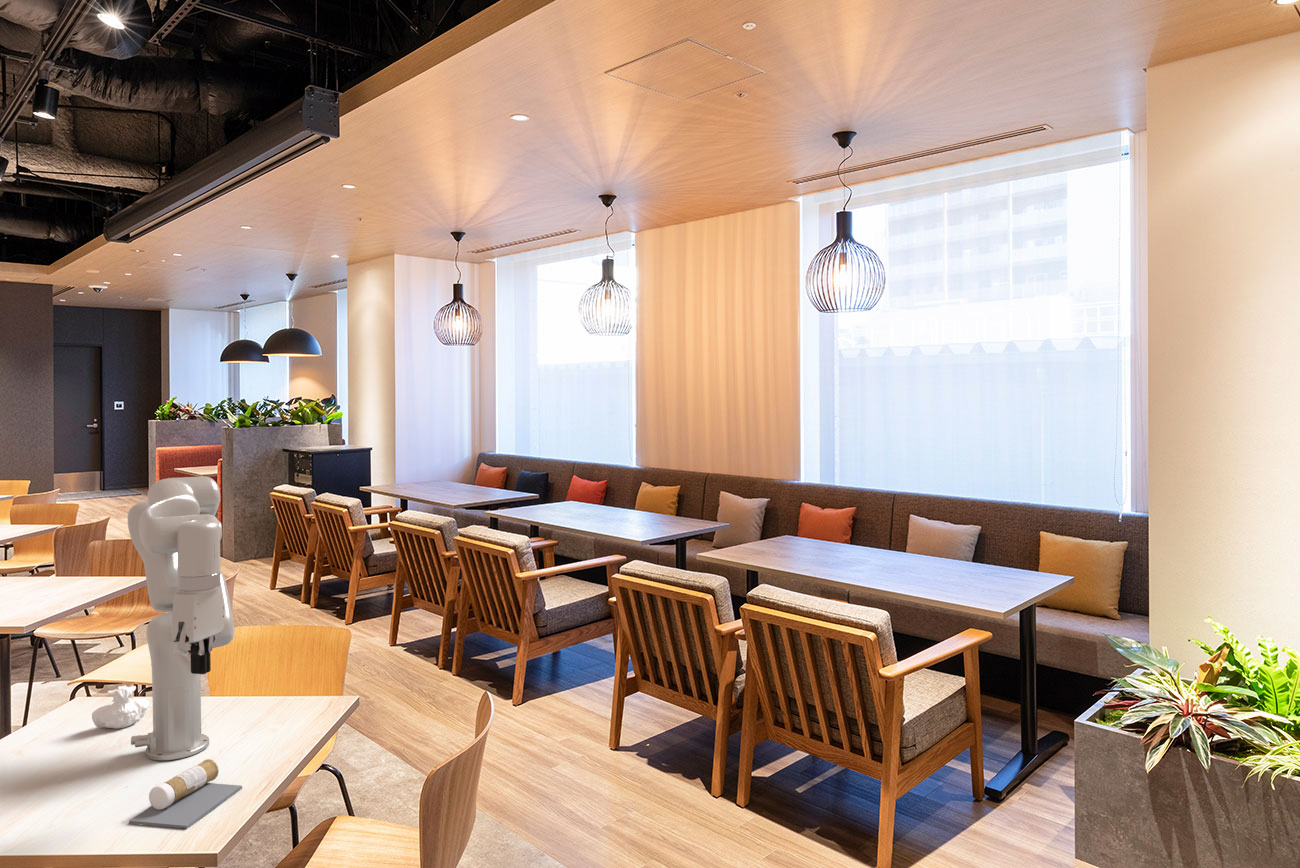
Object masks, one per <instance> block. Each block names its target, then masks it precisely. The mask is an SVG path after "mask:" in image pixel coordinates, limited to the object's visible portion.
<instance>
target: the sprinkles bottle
mask: <svg viewBox="0 0 1300 868" xmlns="http://www.w3.org/2000/svg"><path fill="white" fill-rule="evenodd" d="M218 776H219V766H218V765H217V763H216V761H214V760H213V759H208V758H207V759H204V760H203V761H202V762H200V763H199V764H196V765H195V766H194V765H193V766H192V767H191V768H189V769H187V770H185V771H183V772H181V773H179V774H177V775H175V776H173V777H172V778H170V779H169V780H167V781H165V782H162V783H159V784H157V785H155V786H154V787H153V788H152V789H150V791H149V793H148V800H149V801H148V802H149V803H150V806H153V807H154V808H155V809H158V810H161V809H164V808H166V807H168V806H170V805H171V804H172V803H173V802H175V801H176V800H178V799H180V798H182V797H183V796H186V795H187V794H189V793H191V792H193V791H194V790H196V789H198V788H200V787H202V786H203V785H204V784H206V783H211V782H213V781H214V780H215V779H216V778H217V777H218Z"/></svg>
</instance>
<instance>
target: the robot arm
mask: <svg viewBox="0 0 1300 868" xmlns="http://www.w3.org/2000/svg"><path fill="white" fill-rule="evenodd" d="M220 490H221V489H220V487H219V485H218V483H217V482H216V481H215V480H214V479H213V478H212V477H210V476H204V475H203V476H185V477H168V478H162V479H160V480H157V481H156V482H154V483H153V484H152V485H151V486H150V487H149V489H148V490H147V491H148V492H147V500H145V501H142V502H139V503H137V504H134V505H133V506H131V507H130V509H129V510H128V513H127V528H128V533H129V535H130V536H129V537H130V539H131V541H132V544H133V546H134V548H135V550H136V551H137V553H138V555H139V556H140V558H141V560H142V563H143V566H144V573H145V580H146V588H147V595H148V600H149V603H150V606H151V607H152V609H153V610H154V611H156V612H159V613H162V614H159V615H157V616H155V617H153V618H152V619H151V620H150V621H149V623H148V624H147V626H146V633H145V634H146V639H147V640H146V641H147V646H148V652H149V657H150V666H151V683H152V684H151V685H152V688H151V689H152V690H151V691H152V694H151V695H152V732H147V734H143V735H142V734H139V735H131V738H130V745H131V746H134V748H142V747H146V748H145V752H144V753H145V757H146V758H148V759H150V760H154V761H173V760H179V759H184V758H187V757H190V756H193V755H195V754H198V753H200V752H202V751H204V750H205V749H206V748H207V747H208V746H209V745H210V737H209V736H208V735H206V734H204V733H202V699H201V697H202V695H201V694H202V692H201V688H202V687H201V680H202V679H201V677H202V676H201V675H206V674H207V673H210V672H211V670H212V669H211V668H212V667H211V663H212V662H211V661H212V659H211V652H212V651H213V649H215V648H220V647H221V648H222V647H224V646H227V645H229V644H230V643H231V642H232V641H233V639H234V636H235V629H236V628H235V621H234V615H233V610H232V609H233V608H232V604H231V600H230V595H229V591H228V590H229V589H228V586H227V585H228V584H227V581H226V578H225V577H226V576H225V575H224V574H223V572H222V570H221V540H222V539H223V538H222V537H223V525H222V523H221V521H220V520H219V519H218V517H216V514H217V512H218V510H219V506H220V504H221V503H220V502H221V492H220ZM188 655H190V657H189V656H188Z"/></svg>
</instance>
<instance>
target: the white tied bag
mask: <svg viewBox="0 0 1300 868" xmlns="http://www.w3.org/2000/svg"><path fill="white" fill-rule="evenodd" d="M136 689H137V687H136V685H132V686H129V687H128V686H127V685H126V684H125V685H122V686H117V689H113V690H107V694H108V696H111V697H113V699H112V701H111V702H112V704H107V705H103V706H100V707H98V708H96V709H95V710H94V711H92V713H91V719H92V722H93V724H94V726H95V727H96V728H108V729H109V728H110V729H114V730H115V729H117V730H118V729H124V728H127V727H129V726H131V725H133V724H135V723H136V722H138V721H139V720H140V719H142V718H143V717H144V716H145V715H146V712H147V710H148V708H149V706H150V701H149V700H147V699H145V698H134V699H133V692H135V691H136ZM123 727H124V728H123Z"/></svg>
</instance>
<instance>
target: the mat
mask: <svg viewBox="0 0 1300 868" xmlns="http://www.w3.org/2000/svg"><path fill="white" fill-rule="evenodd" d="M242 789H243V785H239V784H238V785H237V784H227V783H225V784H224V783H214V782H208V783H206V784H204V785H203V786H202V787H200V788H198V789H196V790H194V791H193V792H191V793H189V794H187V795H186V796H183V797H182V798H180V799H178V800H176V801H175V802H173V803H172V804H171V805H170V806H168V807H166V808H164V809H161V810H158V809H155V808H154V807H153V806H152V805H150V806H149V807H147V809H145V810H143V811H142V812H140V813H139V814H137V815H135V816H134V817H133V818H131V819H130V820H129V821H128V823H129V825H137V824H142V825H141V826H148V825H151V827H159V826H164V827H163V828H170V827H174V828H173V829H181V828H186V829H185V830H188V829H189V828H190V827H192V826H193V825H195V824H196V823H197V822H199V821H200V820H201V819H203V818H205V816H206V815H208V814H210V813H211V812H212V811H214V810H215V809H216V808H218V807H219V806H220V805H222V804H223V803H225V802H226V801H228V799H230V798H231V797H232V796H234V795H236V794H237V793H238V792H239V791H241V790H242ZM202 817H203V818H202ZM191 825H192V826H191ZM188 827H189V828H188ZM187 828H188V829H187Z"/></svg>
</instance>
